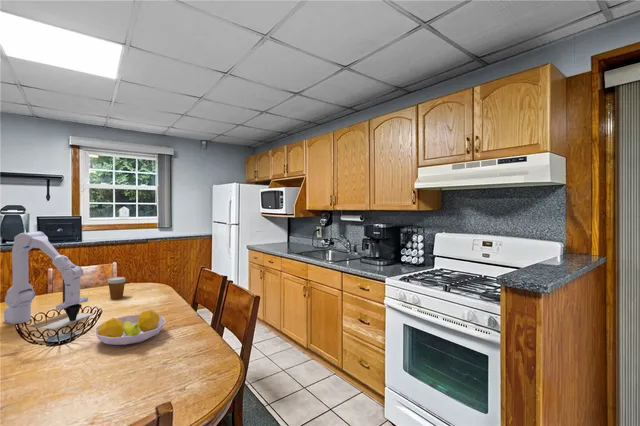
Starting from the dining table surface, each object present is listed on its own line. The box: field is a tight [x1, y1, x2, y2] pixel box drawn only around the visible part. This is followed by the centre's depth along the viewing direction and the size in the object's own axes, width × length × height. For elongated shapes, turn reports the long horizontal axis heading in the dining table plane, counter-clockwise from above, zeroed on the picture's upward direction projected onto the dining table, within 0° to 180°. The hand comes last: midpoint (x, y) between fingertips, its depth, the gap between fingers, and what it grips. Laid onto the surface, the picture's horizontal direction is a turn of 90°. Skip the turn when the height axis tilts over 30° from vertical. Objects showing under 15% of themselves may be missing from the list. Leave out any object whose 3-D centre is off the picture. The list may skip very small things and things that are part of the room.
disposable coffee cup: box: [107, 276, 127, 300], centre depth 192 cm, size 10×10×12 cm
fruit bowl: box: [94, 309, 167, 346], centre depth 135 cm, size 28×27×11 cm
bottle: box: [62, 279, 65, 303], centre depth 182 cm, size 7×7×20 cm
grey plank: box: [41, 312, 95, 330], centre depth 151 cm, size 8×20×1 cm, turn 170°
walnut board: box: [26, 312, 80, 329], centre depth 152 cm, size 7×20×1 cm, turn 170°
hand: (72, 320), depth 151 cm, fingers closed, pressing on grey plank
